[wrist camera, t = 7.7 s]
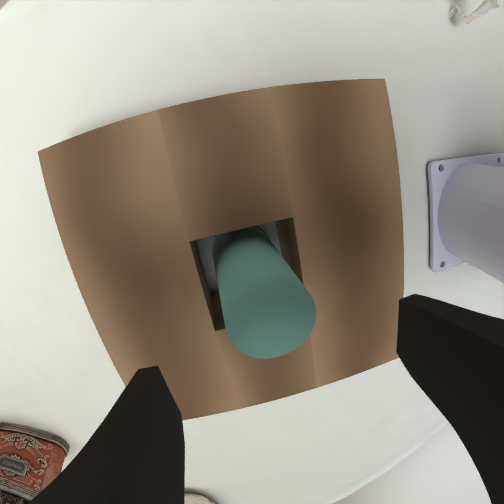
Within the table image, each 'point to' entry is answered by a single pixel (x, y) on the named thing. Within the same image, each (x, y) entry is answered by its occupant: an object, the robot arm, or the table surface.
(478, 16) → the origami figure
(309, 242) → the socket block
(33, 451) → the lighter
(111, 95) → the table surface
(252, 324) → the peg
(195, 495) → the white creature statuette
